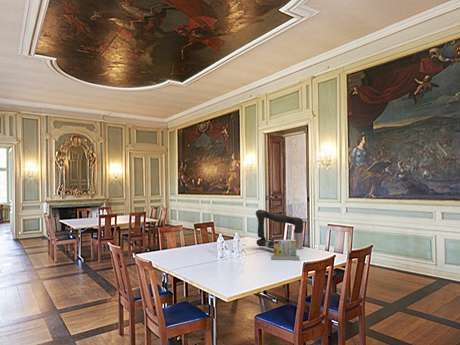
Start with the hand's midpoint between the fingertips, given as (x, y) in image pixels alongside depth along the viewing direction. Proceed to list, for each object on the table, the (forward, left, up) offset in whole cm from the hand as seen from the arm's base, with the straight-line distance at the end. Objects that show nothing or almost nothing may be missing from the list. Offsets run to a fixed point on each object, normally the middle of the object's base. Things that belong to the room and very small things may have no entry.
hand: (281, 246), depth 320 cm
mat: (+19, +3, -7) cm, 20 cm away
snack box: (+7, +3, -7) cm, 10 cm away
